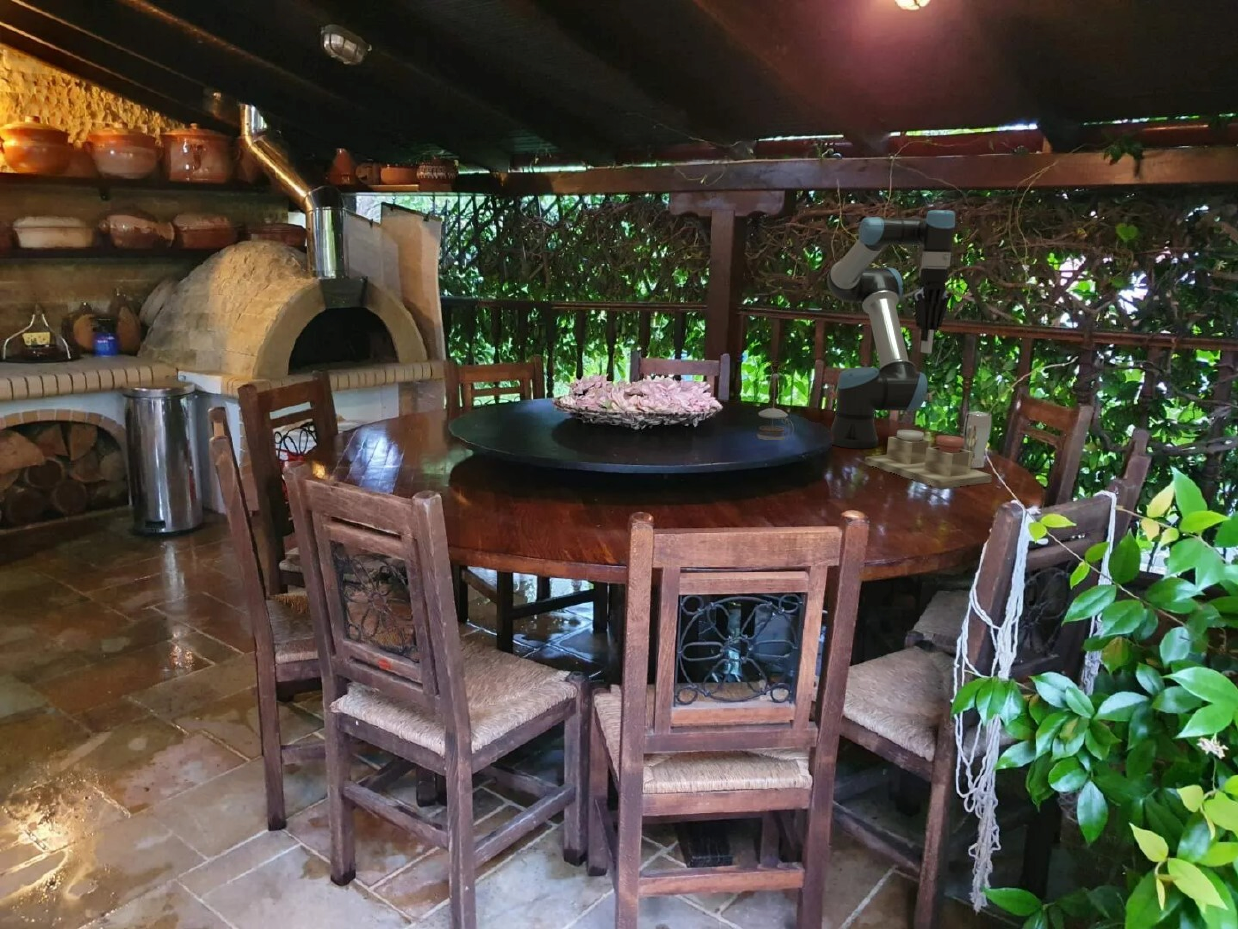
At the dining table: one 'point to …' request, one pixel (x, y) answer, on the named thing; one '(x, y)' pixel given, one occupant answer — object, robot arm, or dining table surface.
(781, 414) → the french press
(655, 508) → the dining table surface
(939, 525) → the dining table surface
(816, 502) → the dining table surface
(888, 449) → the stand
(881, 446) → the dining table surface
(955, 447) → the brown rounded piece
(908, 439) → the grey cylinder
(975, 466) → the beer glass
